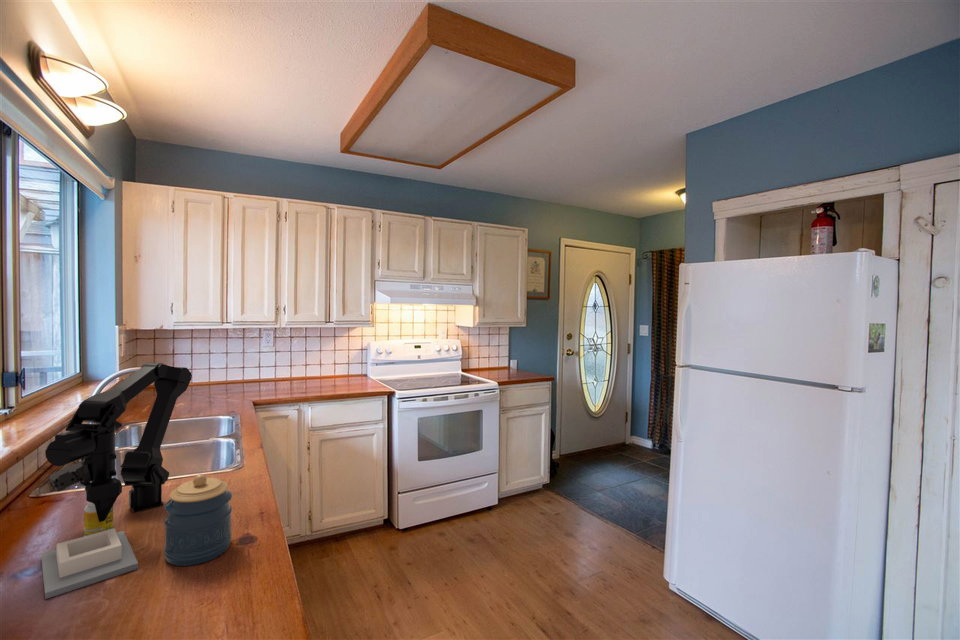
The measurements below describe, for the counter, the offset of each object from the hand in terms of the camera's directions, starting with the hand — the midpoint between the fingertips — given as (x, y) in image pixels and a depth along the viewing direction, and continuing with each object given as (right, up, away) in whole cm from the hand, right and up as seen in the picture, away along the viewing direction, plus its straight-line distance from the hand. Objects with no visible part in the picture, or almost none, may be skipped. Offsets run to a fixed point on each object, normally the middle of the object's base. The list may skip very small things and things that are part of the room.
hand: (99, 514), depth 106 cm
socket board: (+8, -5, -12) cm, 15 cm away
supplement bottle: (0, -5, 0) cm, 5 cm away
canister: (+28, -6, -5) cm, 29 cm away
